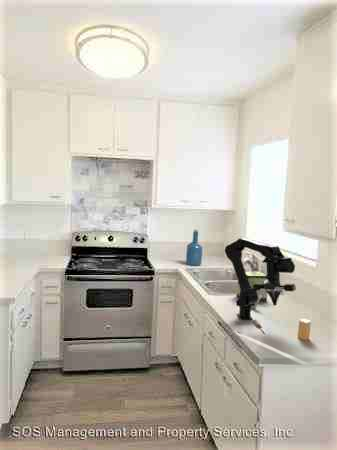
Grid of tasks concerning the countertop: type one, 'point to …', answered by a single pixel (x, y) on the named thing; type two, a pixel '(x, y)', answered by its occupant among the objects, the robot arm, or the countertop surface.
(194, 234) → the wine bottle
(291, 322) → the countertop surface
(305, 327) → the lidded box
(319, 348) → the countertop surface
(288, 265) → the robot arm
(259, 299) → the lighter
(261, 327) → the wooden handled tool
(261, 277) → the protein box
